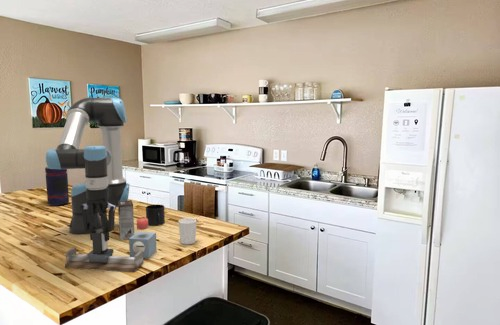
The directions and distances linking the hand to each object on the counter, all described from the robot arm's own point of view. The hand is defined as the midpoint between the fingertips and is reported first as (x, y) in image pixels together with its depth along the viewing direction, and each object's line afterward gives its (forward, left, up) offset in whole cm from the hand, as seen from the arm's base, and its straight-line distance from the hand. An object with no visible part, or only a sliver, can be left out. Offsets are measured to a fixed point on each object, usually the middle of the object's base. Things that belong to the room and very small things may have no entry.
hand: (100, 248), depth 129 cm
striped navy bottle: (-75, +81, -7) cm, 111 cm away
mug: (+2, +51, -7) cm, 51 cm away
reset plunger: (+12, +12, +4) cm, 17 cm away
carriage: (0, 0, -5) cm, 5 cm away
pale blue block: (+12, +12, -7) cm, 18 cm away
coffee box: (-5, +32, -7) cm, 33 cm away
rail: (+2, 0, -7) cm, 7 cm away
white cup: (+26, +28, -7) cm, 39 cm away
